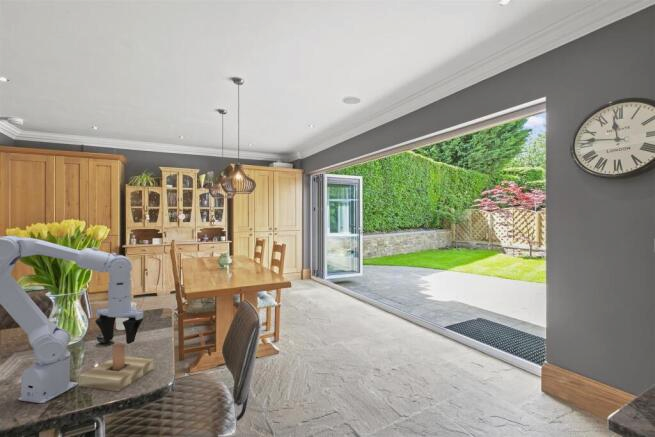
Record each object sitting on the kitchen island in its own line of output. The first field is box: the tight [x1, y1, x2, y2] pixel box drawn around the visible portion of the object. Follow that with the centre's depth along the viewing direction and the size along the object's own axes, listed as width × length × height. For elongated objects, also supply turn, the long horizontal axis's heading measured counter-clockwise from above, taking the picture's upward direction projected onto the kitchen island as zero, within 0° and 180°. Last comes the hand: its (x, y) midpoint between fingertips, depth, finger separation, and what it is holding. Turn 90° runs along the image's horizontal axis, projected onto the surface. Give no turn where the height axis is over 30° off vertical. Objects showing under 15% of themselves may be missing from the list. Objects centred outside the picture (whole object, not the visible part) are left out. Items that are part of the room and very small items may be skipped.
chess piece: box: [95, 328, 116, 348], centre depth 117 cm, size 6×6×12 cm
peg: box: [112, 342, 126, 371], centre depth 93 cm, size 3×3×10 cm
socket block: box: [78, 356, 154, 392], centre depth 93 cm, size 13×13×3 cm
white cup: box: [115, 301, 138, 331], centre depth 135 cm, size 8×8×10 cm
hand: (119, 341), depth 93 cm, fingers open, 7 cm apart
